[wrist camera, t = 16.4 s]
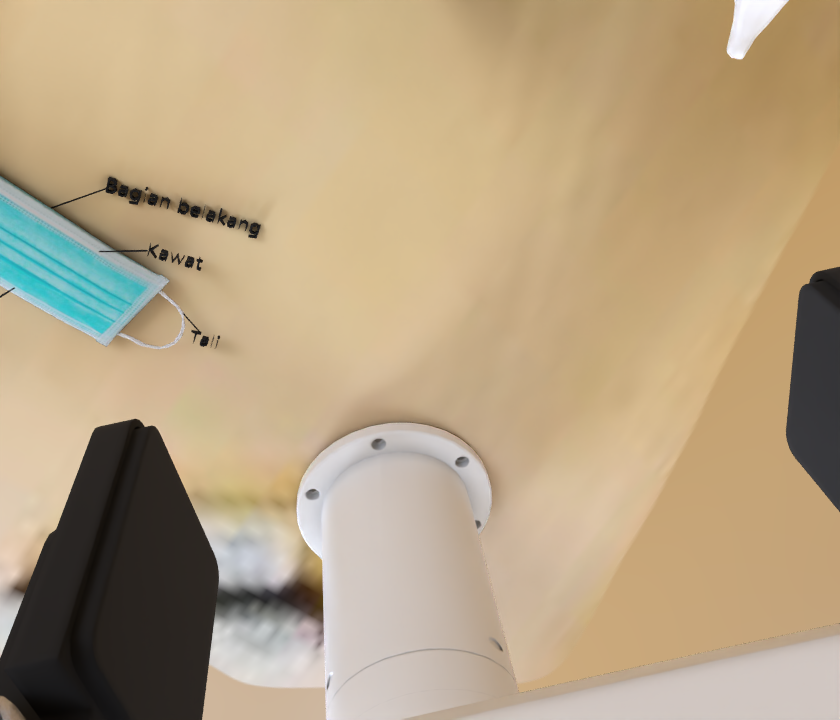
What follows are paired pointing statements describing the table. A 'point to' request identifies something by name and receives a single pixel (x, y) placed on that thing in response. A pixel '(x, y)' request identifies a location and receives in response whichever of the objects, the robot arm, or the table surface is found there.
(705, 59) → the table surface
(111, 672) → the robot arm
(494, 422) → the table surface
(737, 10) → the dinosaur statue
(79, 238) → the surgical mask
